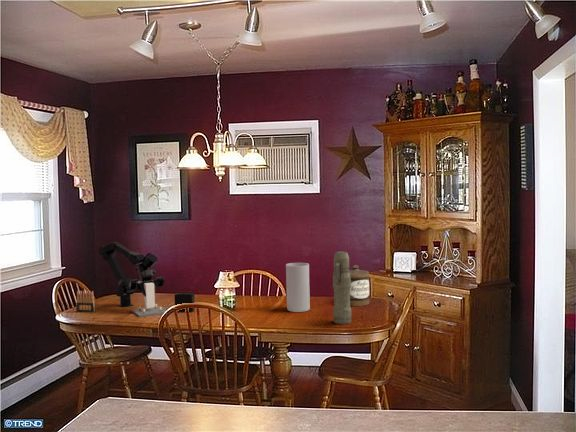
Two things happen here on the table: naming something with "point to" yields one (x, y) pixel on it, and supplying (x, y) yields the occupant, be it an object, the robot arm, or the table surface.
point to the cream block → (149, 295)
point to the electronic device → (184, 300)
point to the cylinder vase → (297, 287)
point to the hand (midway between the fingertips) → (150, 295)
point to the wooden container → (359, 287)
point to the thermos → (341, 289)
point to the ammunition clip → (85, 302)
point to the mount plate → (149, 311)
